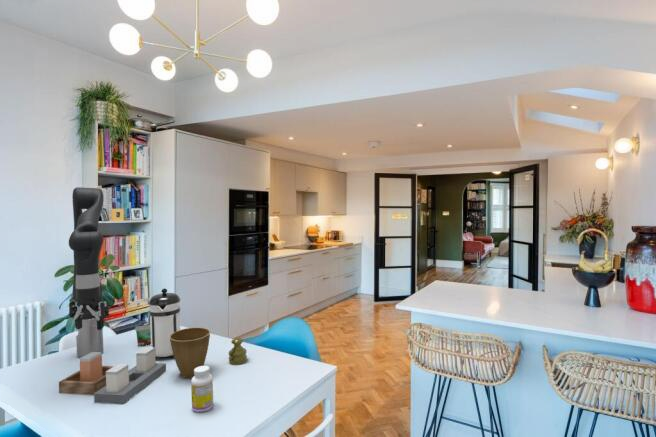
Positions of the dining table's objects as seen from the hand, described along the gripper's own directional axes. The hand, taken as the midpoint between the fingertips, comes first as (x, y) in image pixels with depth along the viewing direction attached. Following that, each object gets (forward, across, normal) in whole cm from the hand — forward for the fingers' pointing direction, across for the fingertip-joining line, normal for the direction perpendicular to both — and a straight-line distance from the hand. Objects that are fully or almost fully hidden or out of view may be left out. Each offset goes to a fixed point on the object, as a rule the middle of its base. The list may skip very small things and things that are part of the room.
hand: (89, 329), depth 137 cm
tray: (+21, 0, 0) cm, 21 cm away
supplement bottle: (+21, -49, +11) cm, 55 cm away
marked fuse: (+20, 0, 0) cm, 20 cm away
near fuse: (+21, -16, +7) cm, 27 cm away
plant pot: (+21, -33, -12) cm, 41 cm away
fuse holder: (+21, -16, -1) cm, 26 cm away
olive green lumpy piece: (+21, -47, -25) cm, 57 cm away
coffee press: (+21, -12, -29) cm, 38 cm away
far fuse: (+21, -16, -9) cm, 28 cm away
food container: (+21, +4, -42) cm, 47 cm away
